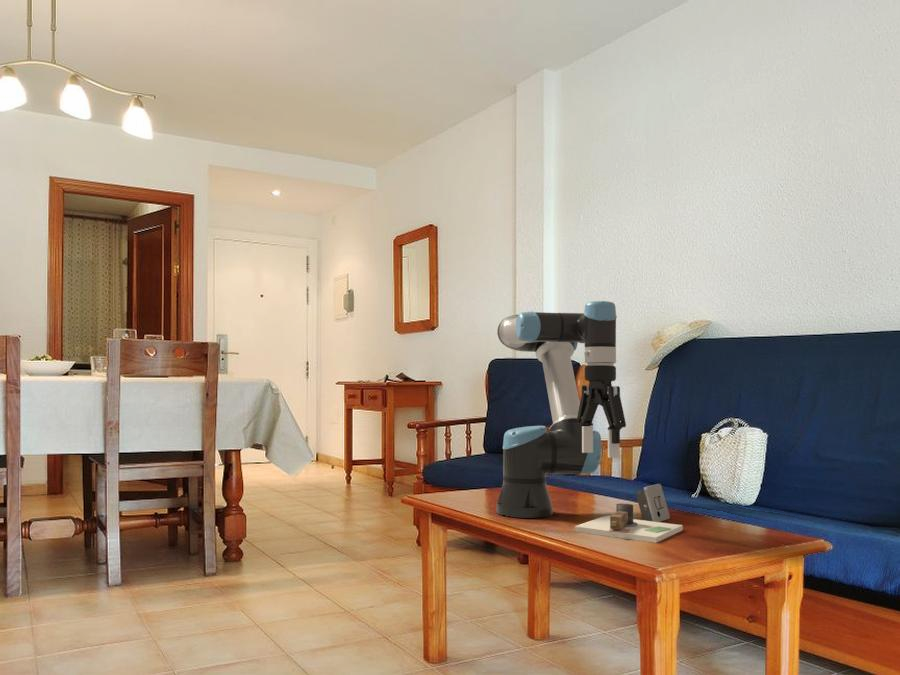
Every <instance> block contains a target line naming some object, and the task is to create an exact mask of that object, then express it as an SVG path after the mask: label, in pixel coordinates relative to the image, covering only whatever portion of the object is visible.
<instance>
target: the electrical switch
mask: <svg viewBox="0 0 900 675" xmlns="http://www.w3.org/2000/svg"><path fill="white" fill-rule="evenodd" d="M663 490H664V489H663V486H662V485H661V483H655V484H652V485H648V486H644V487H643V490H642V489H641V490H638V491H636V492H635V497H636V499H637V500H636V501H637V503H638V506H639V511H640V513H641V517H642V520H645V521H653V522H661V523H662V522H663V521H666V520H669V519H670V518H671V516H670V511H669V508H668V505H667V502H666V498H665V493H664V491H663Z"/></svg>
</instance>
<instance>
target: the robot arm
mask: <svg viewBox="0 0 900 675" xmlns="http://www.w3.org/2000/svg"><path fill="white" fill-rule="evenodd" d="M616 311H617V310H616V305H615V303H614V302H613V301H605V300H599V301H597V300H596V301H594V300H593V301H588V302H586V303H585V304H584V311H583V312H582V313H580V312H544V311H543V312H539V311H537V312H535V311H528V312H527V311H525V312H524V311H523V312H522V311H521V312H520V313H518V314H514V315H509V316H507V317H505V318H503V319H502V320H501V321H500V323H499V325H498V326H497V333H496V334H497V337H498V339H499V342H500V343H501V344H503V345H504V346H505V347H507V348H508V349H510V350H514V351H517V352H518V351H519V352H527V353H528V352H531V353H532V352H533V353H535V356H536V359H537V360H538V361H539V362H541V363H542V368H543V373H544V380H545V385H546V390H547V391H546V392H547V396H548V402H549V408H550V413H551V414H550V415H551V419H552V424H551V425H550V427H549V428H548V429H547V427H546V426H545V425H529V426H528V425H527V426H522V427H520V426H519V427H515V428H511V429H508V430H506V431H505V432H504V435H503V442H502V450H503V452H502V453H503V454H502V459H503V461H502V472H503V473H502V474H503V475H502V479H503V480H502V486H501V489H500V493H499V495H498V499H497V502H496V513H497V514H498V515H499V516H503V515H505V517H509V516H510V518H517V519H518V518H520V519H534V518H535V519H538V518H546V517H550V516H552V515H553V508H554V506H553V503H552V500H551V497H550V494H549V491H548V487H547V475H582V474H593V473H595V472H596V471H597V469H598V467H599V464H600V462H601V456H602V437H601V434H600V433H599V431H597V430H595V429H594V423H593V421H594V418H595V414H596V412H597V410H598V407H599V406H600V407H602V410H603V412H604V414H605V418H606V420H607V423H608V427H607V428H606V429H607V458H610V459H615V458H617V459H618V458H619V459H620V457H621V456H620V449H621V448H620V443H621V430H622V429H623V428H626V427H627V423H626V418H625V414H624V409H623V403H622V399H621V388H620V387H621V386H619V385H617V386H616V385H612V382H615V381H616V379H617V367H616V366H615V365H614V364H616V363H617V312H616ZM578 343H579V344H584V351H583V354H584V363H585V364H587V365H585V366H584V380H585V381H586V382H589V384H588V385H581V396H580V397H579V392H578V387H577V382H576V377H575V374H574V373H575V372H574V366H573V363H572V356H573V355H574V352H575V351H576V350H577V347H578Z"/></svg>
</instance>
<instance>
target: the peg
mask: <svg viewBox="0 0 900 675" xmlns="http://www.w3.org/2000/svg"><path fill="white" fill-rule="evenodd" d="M615 506H616V512H615V513H613V514H611V515H609V516H610V529H619V530H620V529H621V528H622V527H624V526H625V525H631V524H633V519H634V504H631V503H622V502H621V503H616V505H615Z"/></svg>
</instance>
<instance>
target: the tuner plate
mask: <svg viewBox="0 0 900 675" xmlns="http://www.w3.org/2000/svg"><path fill="white" fill-rule="evenodd" d="M610 516H611V515H603V516H601V517H598V518H595V519H592V520H589V521H586V522H583V523H581V524H577V525H575V526H574V532H577V533H583V534H589V535H590V534H591V535H598V536H605V537H611V538H619V539H626V540H631V541H632V540H633V541H639V542H648V543H655V544H657V543H659V542H661V541H663V540H665V539H667V538H670V537H672V536H674V535H676V534H678V533H680V532H682V531H683V530H684V529H683V527H684V525H683V524H675V523H668V522H662V521H661V522H653V521H645V520H643V519H636V518H633V524H631V525H625V526H624V527H622V528H621V529H620V530H619V529H610Z"/></svg>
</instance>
